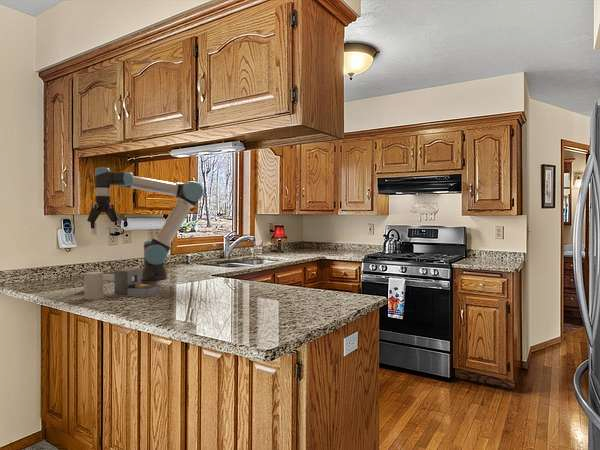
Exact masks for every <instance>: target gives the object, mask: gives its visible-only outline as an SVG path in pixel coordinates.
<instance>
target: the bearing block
mask: <svg viewBox="0 0 600 450" xmlns="http://www.w3.org/2000/svg"><path fill="white" fill-rule="evenodd" d="M113 275H114V281H113V282H114V296H115V295H116V296H117V295H118V296H127V297H129V296H128V288H132V289H135V286H136V285H140V284H142V279H141V275H142V268H140V267H139V268H137V267H126V268H120V269H115V270H114V271H113ZM132 276H135V281H132Z"/></svg>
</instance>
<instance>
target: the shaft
mask: <svg viewBox="0 0 600 450" xmlns="http://www.w3.org/2000/svg"><path fill="white" fill-rule="evenodd" d="M86 272H99V271H98V270H87V271H83V274H84V273H86ZM103 281H113V282H114V274H113V273H112V274H109V273H108V274H107V273H103ZM132 281H135V276H132Z"/></svg>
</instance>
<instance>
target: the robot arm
mask: <svg viewBox="0 0 600 450" xmlns="http://www.w3.org/2000/svg"><path fill="white" fill-rule="evenodd" d="M94 183H95V184H94V187H95V188H94V189H95V190H94V191H95V192H94V193H95V200H94V201H95V203H96V204H95V203H93V204H91V207H90V208H91V209H90V211H89V213H88V217H87V222H88V223H90V229H91V230H90V231H91V235H94V236H95V235H97V230H98V229H97V222H96V221H97V219H98V218H99V217H100V214H102V213H105V215H106V216H107V217H108V219H109V220H110V221H109V231H110V232H109V234H116V229H115V228H116V222H118V221H119V218H118V215H117V213H116V210H115V206H114V204H110V203H111V186H118V187H120V188H128V189H135V190H141V191H146V192H153V193H157V194H162V195H168V196H173V197H174V198H176V199H177V202H176V203H175V205H174V207H173V208H172V210H171V212H170V213H169V215H168V217H167V219H166V220H165V222H164V224H163V226H162V227H161V229H160V231H159V232H158V234H157V236H155V237H153V238H152V239H151V240H147V241H144V243H143V260H144V261H143V269H142V271H141V281H159V280H166V279H167V278H168V273H167V270H166V267H165V261H166V259H167V257H168V254H169V252H170V250H171V249H172V245H171V244H172V242H173V240H174V238H175V236H176V235H177V233H178V231H179V230H180V228H181V227H182V224H183V222H184V221H185V219H186V217H187V216H188V214H189V212H190V210H191V209H192V208H195V207H196V206H197V204H198V202H199V201H200V199H202V197H203V195H204V188H203V185H202V184H201V183H199V182H198V181H195V180H190V181H187V182H180V181H179V182H178V181H177V182H175V183H174V182H169V181H165V180H158V179H153V178H147V177H142V176H137V175H136V176H135V175H134V174H133V172H128V171H111V170H110V168H109V167H96V168H95V170H94Z"/></svg>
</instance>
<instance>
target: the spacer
mask: <svg viewBox="0 0 600 450" xmlns="http://www.w3.org/2000/svg"><path fill="white" fill-rule="evenodd" d="M148 286H149V284H146V283H141V284H140V285H136V286H135V289H148Z"/></svg>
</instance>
